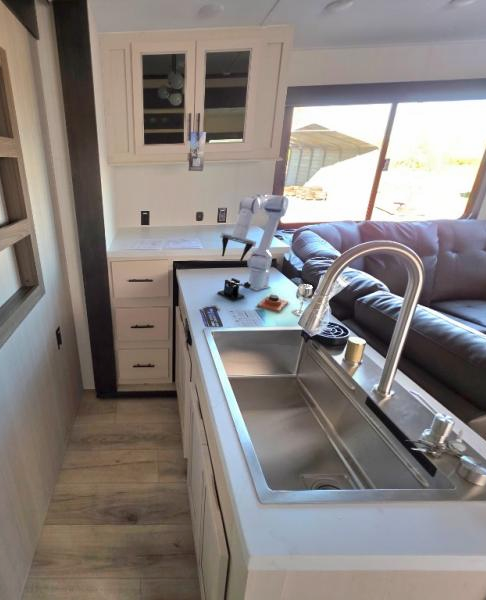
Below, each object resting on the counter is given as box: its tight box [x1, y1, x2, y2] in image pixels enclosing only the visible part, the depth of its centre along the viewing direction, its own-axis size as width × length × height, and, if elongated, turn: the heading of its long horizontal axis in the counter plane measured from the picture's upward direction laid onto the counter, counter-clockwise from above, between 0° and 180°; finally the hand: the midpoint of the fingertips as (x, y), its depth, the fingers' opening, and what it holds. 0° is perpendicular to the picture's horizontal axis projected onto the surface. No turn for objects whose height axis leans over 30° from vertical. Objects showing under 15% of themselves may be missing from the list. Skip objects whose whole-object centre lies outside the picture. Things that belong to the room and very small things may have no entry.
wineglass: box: [293, 283, 313, 316], centre depth 127 cm, size 6×6×12 cm
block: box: [257, 295, 289, 313], centre depth 136 cm, size 12×9×3 cm
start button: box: [269, 294, 280, 301], centre depth 135 cm, size 4×4×2 cm
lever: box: [230, 280, 251, 289], centre depth 140 cm, size 12×3×3 cm, turn 31°
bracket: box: [217, 277, 245, 302], centre depth 144 cm, size 10×7×8 cm
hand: (231, 258), depth 131 cm, fingers open, 7 cm apart
